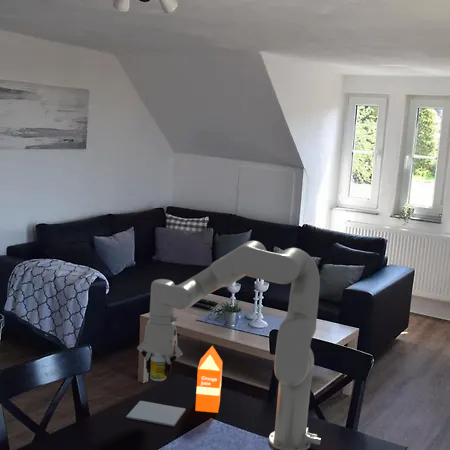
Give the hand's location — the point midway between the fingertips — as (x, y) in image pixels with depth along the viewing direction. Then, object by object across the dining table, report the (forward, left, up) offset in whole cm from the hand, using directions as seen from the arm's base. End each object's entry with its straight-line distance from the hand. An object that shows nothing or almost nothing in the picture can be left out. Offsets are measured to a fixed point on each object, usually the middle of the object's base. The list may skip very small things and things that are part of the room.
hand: (158, 372), depth 204 cm
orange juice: (-14, -12, -15) cm, 24 cm away
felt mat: (0, 0, -14) cm, 14 cm away
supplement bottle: (0, 0, -2) cm, 2 cm away
